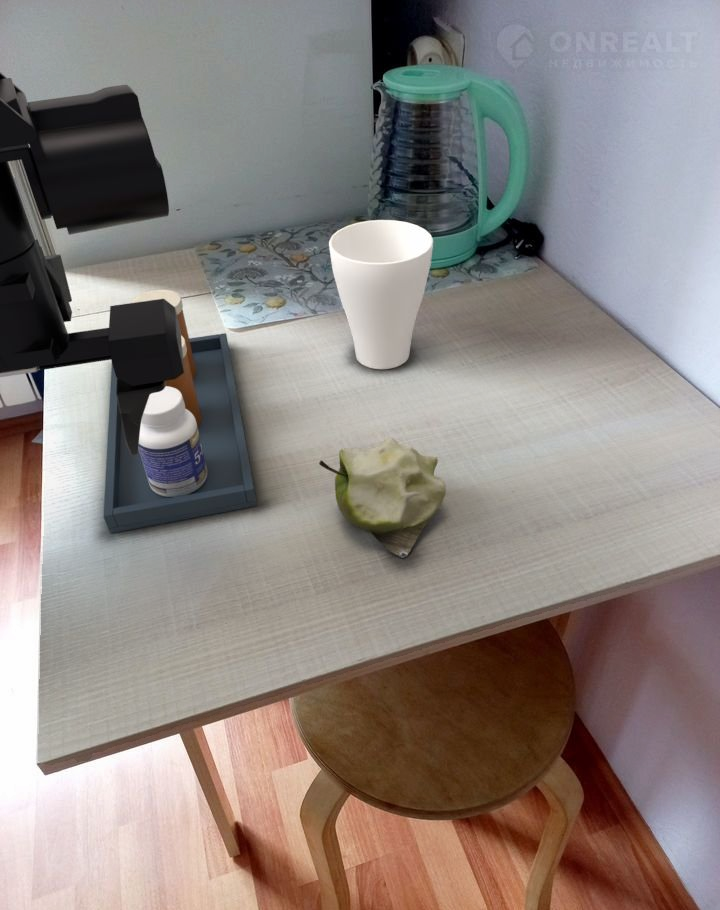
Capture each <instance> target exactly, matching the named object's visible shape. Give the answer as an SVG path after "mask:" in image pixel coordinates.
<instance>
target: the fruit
mask: <svg viewBox="0 0 720 910" xmlns="http://www.w3.org/2000/svg"><path fill="white" fill-rule="evenodd" d="M338 457H339V468H338V470H337V469H335V468H333V467H331V466H329V465H328V464H326V463H325V462H324V460H322V459H321V460H319V463H318V465H319V466H321V467H322V468H324V469H326V470H328V471H330V472H332V473H333V474H336V475H335V477H334V490H335V493H334V494H335V500H336V503H337V507H338V509H339V511H340V512H341V514H342V515H343V517H344V518H345V519H346V521H348V522H349V523H350V524H352V525H354V526H356V527H357V528H360V530H363V531H365V532H367V533H368V534H370V535H371V536H373V537H374V538H375V539H376V540H377V541H378V542H379V543H380V544H381V545H383V546H384V547H385V548H386V549H387V550H388V551H390V552H391V553H392V554H394V555H396V556H398V557H400V558H403V559H404V558H407V557H408V556H409V554H410V552H411V551H412V548H413V546H414V545H415V543H416V541H417V540H418V538H419V536H420V534H421V533H422V531H423V530H424V528H425V526H426V525H427V523H428V522H430V521H431V519H433V517H434V515H435V514H437V512H438V510H439V509H440V507H441V505H442V503H443V501H444V498H445V495H446V493H447V486H446V483H445V481H444V480H443V479H442V478H441V477H439V476H435V470H436V467H437V464H438V462H439V459H438V456H431V455H422V454H420V453H419V452H418V450H416V449H414V448H413V446H403V445H401V444H400V443H398V441H397V440H396V439H395V438H393V437H392V436H387V437H385V439H384V440H383V441H382V442H381V444H380V445H378V446H375V447H373V448H371V449H362V448H360V447H354V448H349V447H348V448H346V447H345V448H341V449H340V450H339V451H338Z"/></svg>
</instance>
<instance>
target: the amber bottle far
mask: <svg viewBox="0 0 720 910" xmlns="http://www.w3.org/2000/svg"><path fill="white" fill-rule="evenodd" d="M157 299H165V300H166V301H167V302H169V303H170V304H171V305H173V306H174V307H175V310H176V313H177V318H178V322H179V326H180V331H181V335H182V336H183V338H184V339H185V343H186V347H187V357H188V361H189V365H190V370H191V374H192V379H194V378H195V376H196V368H195V363H194V359H193V354H192V350H191V345H190V341H189V338H190V336H189V332H188V328H187V324H186V323H187V322H186V318H185V313H184V309H183V307H184V304H183V300H182V296H181V295H180V293H178V292H177V291H175V290H171V289H154V290H148V291H146V292H143V293H140V294H138V295H137V296H136V297H134V298H133V299H132V301H131V302H130V303H136V302H143V301H150V300H157Z"/></svg>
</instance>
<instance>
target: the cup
mask: <svg viewBox="0 0 720 910" xmlns="http://www.w3.org/2000/svg"><path fill="white" fill-rule="evenodd" d="M433 248H434V239H433V236H432V235H431V233H430V232H429V231H428V230H426V228H423V227H421V226H419V225H417V224H414V223H411V222H407V221H401V220H397V219H396V220H395V219H394V220H393V219H374V220H373V219H372V220H365V221H360V222H355V223H352V224H349V225H346V226H344V227H342V228H341V229H338V230H337V231H336V232H334V233H333V234H332V235H331V237H330V238H329V241H328V249H329V254H330V255H329V256H330V261H331V269H332V274H333V277H334V281H335V284H336V289H337V293H338V296H339V300H340V302H341V305H342V308H343V310H344V313H345V315H346V317H347V319H346V320H347V322H348V326H349V329H350V332H351V336H352V340H353V346H354V353H355V359H356V360H357V362H359V363H360V364H361V365H363V366H364V367H366V368H369V369H374V370H390V369H395V368H397V367H399V366H403V364H404V363H406V362H407V361H408V360H409V358H410V352H411V345H412V336H413V332H414V327H415V325H416V320H417V316H418V313H419V310H420V308H421V304H422V302H423V299H424V294H425V292H426V291H425V290H426V286H427V282H428V277H429V273H430V270H431V265H432V256H433Z"/></svg>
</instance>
